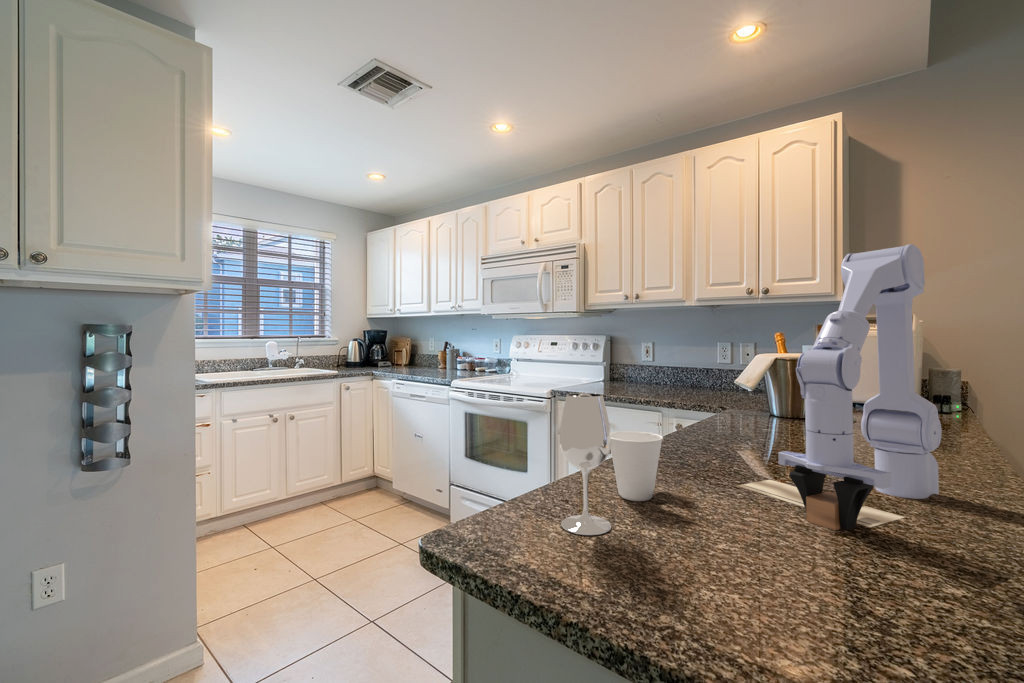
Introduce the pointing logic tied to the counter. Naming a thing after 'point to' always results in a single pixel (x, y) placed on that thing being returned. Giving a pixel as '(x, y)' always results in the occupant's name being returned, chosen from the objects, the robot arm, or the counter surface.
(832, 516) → the block
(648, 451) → the cup
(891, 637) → the counter surface
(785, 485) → the board
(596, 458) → the wineglass
